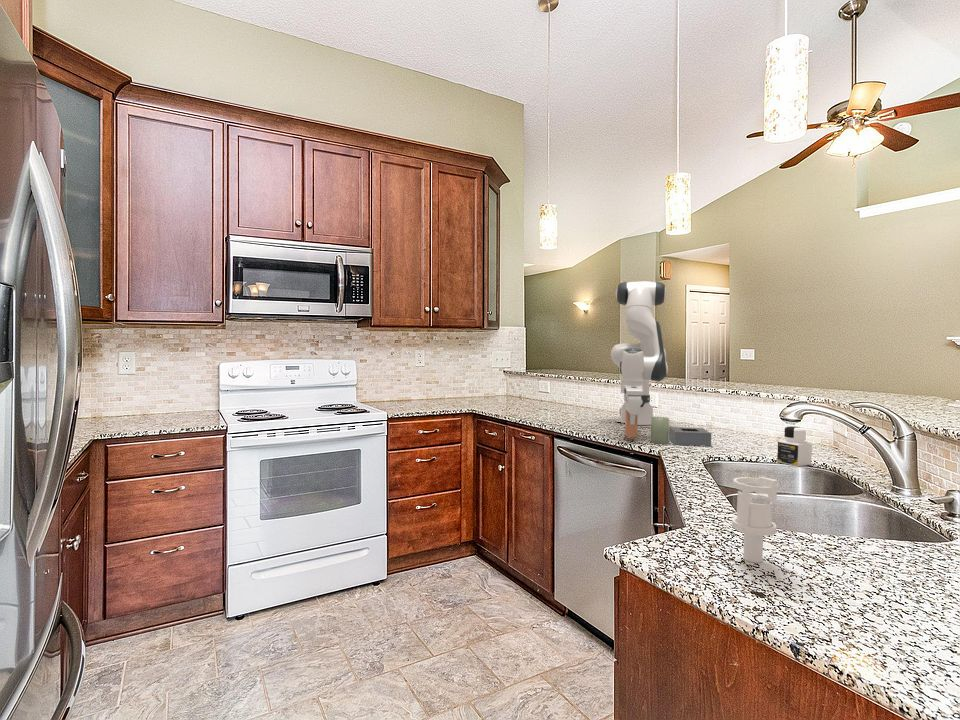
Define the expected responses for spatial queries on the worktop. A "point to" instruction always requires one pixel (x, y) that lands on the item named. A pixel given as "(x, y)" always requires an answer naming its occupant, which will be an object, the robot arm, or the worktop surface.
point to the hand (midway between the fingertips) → (631, 423)
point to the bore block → (689, 436)
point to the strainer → (755, 514)
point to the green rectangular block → (659, 430)
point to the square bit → (630, 426)
